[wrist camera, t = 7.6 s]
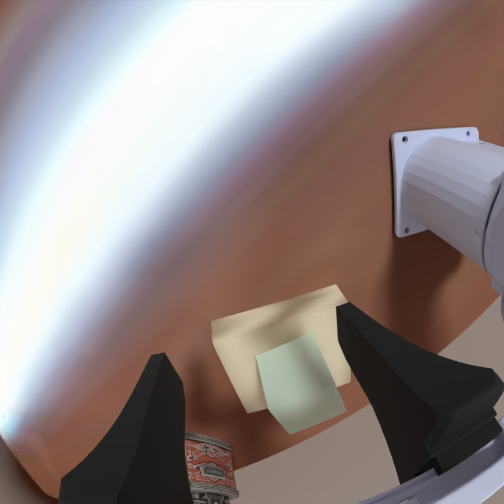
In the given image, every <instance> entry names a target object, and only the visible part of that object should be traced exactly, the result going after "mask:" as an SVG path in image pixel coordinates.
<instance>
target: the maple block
mask: <svg viewBox="0 0 504 504" xmlns="http://www.w3.org/2000/svg"><path fill="white" fill-rule="evenodd" d="M345 303H348V301H347V300H346V299H345V297H344V296H343V294H342V293H341V291H340V290H339V288H338V287H337V285H336V284H335V285H332V286H329V287H326V288H323V289H320V290H316V291H313V292H310V293H307V294H304V295H300V296H297V297H294V298H291V299H287V300H284V301H281V302H277V303H274V304H270V305H267V306H264V307H260V308H257V309H253V310H250V311H246V312H243V313H239V314H235V315H232V316H228V317H224V318H221V319H217V320H213V321H211V328H212V341H213V345H214V347H215V349H216V352H217V354H218V356H219V358H220V360H221V362H222V364H223V366H224V368H225V370H226V372H227V374H228V376H229V378H230V380H231V382H232V384H233V386H234V388H235V390H236V392H237V394H238V396H239V398H240V400H241V402H242V404H243V406H244V408H245V410H246V412H247V413H252V412H256V411H260V410H264V409H267V408H268V406H267V402H266V398H265V394H264V390H263V385H262V381H261V377H260V373H259V369H258V364H257V360H256V356H257V355H259V354H262V353H264V352H267V351H269V350H272V349H274V348H276V347H279V346H281V345H283V344H286V343H288V342H290V341H292V340H295V339H297V338H299V337H301V336H304V335H306V334H308V333H310V332H312V334H313V336H314V338H315V340H316V342H317V345H318V347H319V349H320V351H321V353H322V355H323V358H324V360H325V362H326V364H327V366H328V369H329V371H330V373H331V375H332V377H333V380H334V382H335V384H336V387H338V386H341V385H344V384H346V383H349V382H350V366H349V365H348V363H347V361H346V359H345V357H344V354H343V352H342V350H341V347H340V345H339V343H338V336H337V319H336V306H339V305H342V304H345Z"/></svg>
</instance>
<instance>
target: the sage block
mask: <svg viewBox="0 0 504 504" xmlns="http://www.w3.org/2000/svg"><path fill="white" fill-rule="evenodd" d="M256 360H257V364H258V369H259V373H260V377H261V381H262V385H263V390H264V394H265V398H266V402H267V406H268V410H269V411H270V412H271V414H272V415H273V416H274V417H275V418H276V419H277V421H278V422H279V423H280V424H281V425H282V426H283V427H284V429H285V430H286V431H287V432H288V433H289V434H293V433H295V432H298V431H301V430H303V429H306V428H309V427H311V426H314V425H316V424H319V423H321V422H323V421H326V420H328V419H330V418H333V417H335V416H337V415H340V414H342V413H344V412H346V409H345V407H344V404H343V402H342V399H341V397H340V394H339V392H338V389H337V387H336V384H335V382H334V380H333V377H332V375H331V373H330V371H329V369H328V366H327V364H326V362H325V360H324V358H323V355H322V353H321V351H320V349H319V347H318V345H317V342H316V340H315V338H314V336H313V334H312V332H310V333H308V334H306V335H304V336H301V337H299V338H297V339H295V340H292V341H290V342H288V343H286V344H283V345H281V346H279V347H276V348H274V349H272V350H269V351H267V352H264V353H262V354H259V355H257V356H256Z"/></svg>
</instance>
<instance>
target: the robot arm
mask: <svg viewBox="0 0 504 504" xmlns="http://www.w3.org/2000/svg"><path fill="white" fill-rule="evenodd" d="M466 133H467V135H466ZM403 137H405V141H404V142H403V141H402V138H403ZM391 145H392V158H393V174H394V202H395V234H396V236H398V237H399V238H402V237H405V236H408V235H412V234H415V233H418V232H422V231H425V230H428V229H429V230H430V231H432V232H433V233H434V234H436V235H437V236H439V237H440V238H442V239H443V240H444V241H446V242H447V243H449V244H450V245H451V246H453V247H454V248H455V249H457V250H458V251H460V252H461V253H462V254H464V255H465V256H466V257H468V258H469V259H470V260H471V261H473V262H474V263H475V264H477V265H478V266H479V267H480V268H482V269H483V270H484V271H486V272H487V273H488V274H489V275H490V276H491V288H492V289H494V290H495V291H496V292H497V293H498V294H499V295H500V296H502V299H501V314H502V318H503V321H504V148H503V147H500V146H497V145H494V144H491V143H488V142H484V141H481V140H479V136H478V130H477V128H475V127H460V128H443V129H430V130H418V131H408V132H398V133H394V134H393V135H392V137H391ZM406 228H407V230H406V231H405V229H406ZM336 319H337V336H338V343H339V345H340V347H341V350H342V352H343V354H344V357H345V359H346V361H347V363H348V365H349V366H350V368H351V370H352V371H353V373H354V375H355V377H356V378H357V380H358V382H359V383H360V385H361V387H362V389H363V390H364V392H365V394H366V396H367V397H368V399H369V401H370V403H371V405H372V406H373V409H374V411H375V414H376V416H377V419H378V421H379V423H380V426H381V428H382V431H383V433H384V436H385V439H386V441H387V444H388V447H389V450H390V453H391V456H392V459H393V462H394V465H395V468H396V472H397V475H398V478H399V482H400V485H399V486H397V487H395V488H393V489H390V490H388V491H386V492H384V493H381V494H379V495H377V496H374V497H372V498H369V499H367V500H364V501H362V502H359V503H356V504H399V503H402V502H404V501H406V500H408V499H409V500H408V501H407V502H405V503H403V504H481V503H482V502H483V501H484V500H486V499H487V498H488V497H489V496H491V495H492V494H493V493H494V492H496V491H497V490H498V489H499V488H501V487H502V486H503V485H504V416H503V417H502V418H501V419H500V420H499V421H498V422H497V420H496V419H495V416H496V415H497V413H496V411H495V410H494V408H493V407H494V405H495V404H496V402H497V401H498V399H499V398H500V396H501V395H502V393H503V391H504V383H503V381H502V380H501V379H500V377H499V376H498V375H497V374H496V373H495V372H494V370H493V369H491V368H485V367H479V366H473V365H469V364H465V363H461V362H457V361H454V360H451V359H448V358H445V357H442V356H439V355H437V354H434V353H431V352H429V351H427V350H424V349H422V348H420V347H418V346H416V345H414V344H412V343H410V342H408V341H407V340H405V339H403V338H401V337H400V336H398V335H396V334H395V333H393V332H391V331H390V330H388V329H387V328H385V327H384V326H382V325H381V324H379V323H378V322H376V321H375V320H374V319H372V318H371V317H369V316H368V315H367V314H365V313H364V312H363V311H361V310H360V309H359V308H357V307H356V306H355V305H353V304H352V303H350V302H348V303H345V304H342V305H339V306H336ZM58 504H194V502H193V498H192V494H191V489H190V483H189V478H188V472H187V465H186V457H185V397H184V389H183V382H182V380H181V379H180V377H179V375H178V374H177V372H176V371H175V369H174V367H173V366H172V364H171V362H170V361H169V359H168V357H167V356H166V354H165V352H164V353H159V354H155V355H151V357H150V359H149V361H148V363H147V364H146V366H145V369H144V371H143V373H142V375H141V377H140V379H139V381H138V383H137V385H136V386H135V388H134V390H133V392H132V394H131V396H130V398H129V400H128V401H127V403H126V405H125V407H124V408H123V410H122V412H121V413H120V415H119V417H118V418H117V420H116V421H115V423H114V424H113V426H112V427H111V428H110V430H109V431H108V433H107V434H106V435H105V436H104V437H103V439H102V440H101V441H100V442H99V444H98V445H97V446H96V447H95V448H94V449H93V451H92V452H91V453H90V454H89V455H88V456H87V457H86V458H85V459H84V460H83V461H82V462H81V463H79V464H78V465H77V466H76V467H75V468H74V469H73V470H71V471H70V472H69V473H68V474H66V475H65V476H64V477H63V478H62V479H61V485H60V491H59V499H58Z"/></svg>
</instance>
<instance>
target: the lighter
mask: <svg viewBox="0 0 504 504" xmlns="http://www.w3.org/2000/svg"><path fill="white" fill-rule="evenodd" d="M231 453H232V447H231V445H230V444H228V443H226V442H223V441H221V440H218V439H215V438H212V437H208V436H204V435H200V434H195V433H190V432H185V457H186V465H187V472H188V478H189V483H190V489H191V494H192V498H193V502H194V504H230V503H229V501H228V500H233V499H236V498H238V497H239V492H238V490H236V484H235V477H234V471H233V464H232V457H231Z"/></svg>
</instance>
